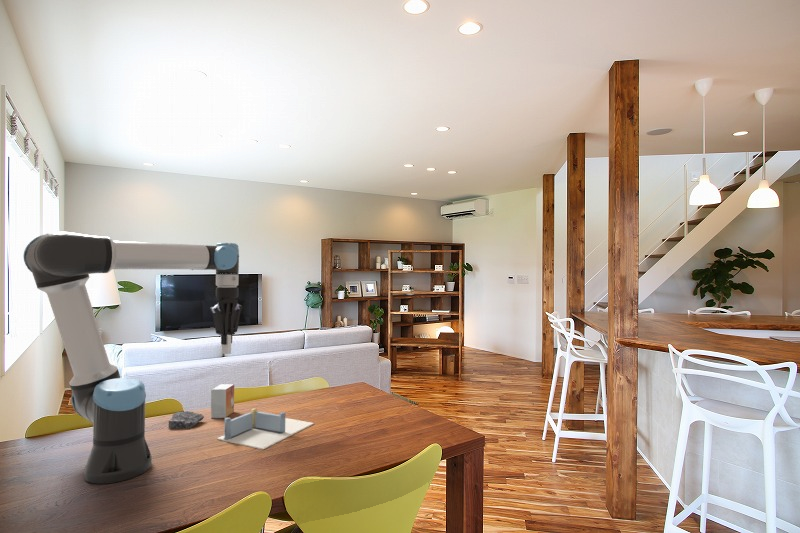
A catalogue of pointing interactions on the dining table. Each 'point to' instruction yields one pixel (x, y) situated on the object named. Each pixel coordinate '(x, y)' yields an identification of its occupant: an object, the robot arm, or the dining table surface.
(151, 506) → the dining table surface
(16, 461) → the dining table surface
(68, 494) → the dining table surface
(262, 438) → the card
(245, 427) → the fixed fence panel
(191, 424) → the rock
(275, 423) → the swing fence panel
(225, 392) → the small box
